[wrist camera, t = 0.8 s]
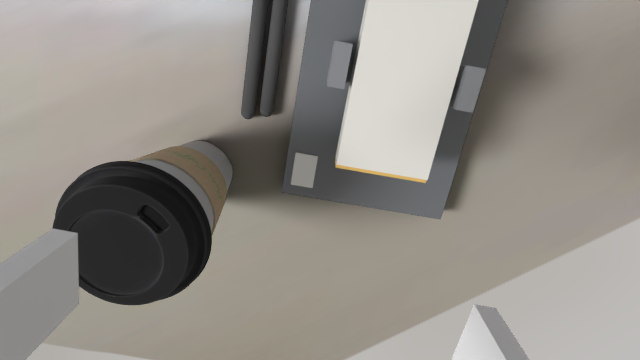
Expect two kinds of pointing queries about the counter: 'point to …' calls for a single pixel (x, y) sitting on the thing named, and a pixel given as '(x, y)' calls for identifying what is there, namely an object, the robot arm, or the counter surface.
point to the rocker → (402, 85)
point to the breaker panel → (329, 104)
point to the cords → (256, 53)
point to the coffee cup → (146, 221)
